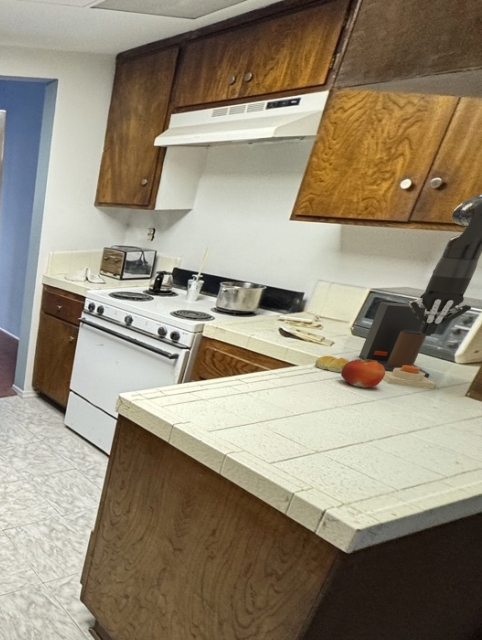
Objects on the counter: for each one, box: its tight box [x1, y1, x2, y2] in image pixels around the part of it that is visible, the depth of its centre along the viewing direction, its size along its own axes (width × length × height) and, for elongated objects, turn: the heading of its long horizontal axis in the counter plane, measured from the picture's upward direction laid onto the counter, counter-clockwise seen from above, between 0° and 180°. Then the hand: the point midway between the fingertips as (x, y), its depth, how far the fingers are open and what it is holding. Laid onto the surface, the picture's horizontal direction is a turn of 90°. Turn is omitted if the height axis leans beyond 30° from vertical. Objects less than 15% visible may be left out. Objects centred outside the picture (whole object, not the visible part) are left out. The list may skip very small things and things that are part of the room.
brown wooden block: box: [387, 330, 427, 368], centre depth 149 cm, size 8×6×12 cm
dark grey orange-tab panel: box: [358, 301, 430, 379], centre depth 151 cm, size 17×12×20 cm
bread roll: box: [314, 355, 350, 373], centre depth 153 cm, size 8×9×4 cm
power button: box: [401, 365, 421, 374], centre depth 141 cm, size 4×4×2 cm
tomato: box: [340, 358, 385, 389], centre depth 138 cm, size 9×9×8 cm
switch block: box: [382, 368, 436, 390], centre depth 142 cm, size 10×8×4 cm
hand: (425, 335), depth 137 cm, fingers closed
